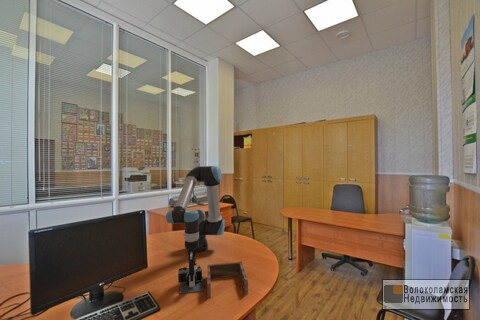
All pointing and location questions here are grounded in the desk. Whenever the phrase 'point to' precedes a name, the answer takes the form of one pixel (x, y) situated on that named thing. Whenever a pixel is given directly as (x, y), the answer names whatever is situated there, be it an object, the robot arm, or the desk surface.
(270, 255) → the desk surface
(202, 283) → the mat
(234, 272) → the cubby
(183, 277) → the camera
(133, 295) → the desk surface
